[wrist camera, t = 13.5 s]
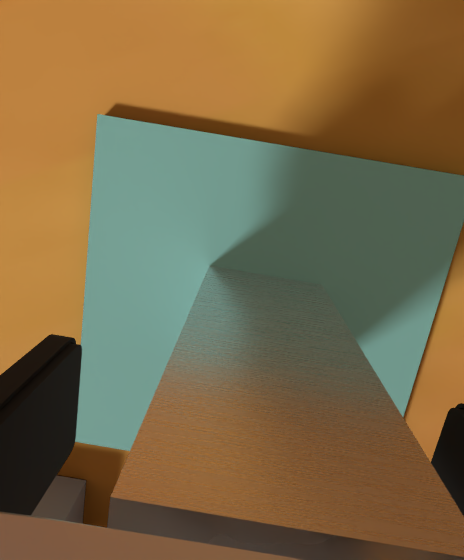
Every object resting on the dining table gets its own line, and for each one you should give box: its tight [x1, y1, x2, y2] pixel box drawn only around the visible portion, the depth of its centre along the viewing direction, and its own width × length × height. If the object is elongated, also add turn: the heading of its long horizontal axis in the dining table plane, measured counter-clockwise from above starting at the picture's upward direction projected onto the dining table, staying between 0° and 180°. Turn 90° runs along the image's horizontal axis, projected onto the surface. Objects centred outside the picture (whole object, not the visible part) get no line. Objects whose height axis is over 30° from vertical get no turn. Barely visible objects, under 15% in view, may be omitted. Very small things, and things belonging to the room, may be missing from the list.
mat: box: [75, 114, 464, 451], centre depth 17 cm, size 14×14×1 cm
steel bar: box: [107, 266, 464, 560], centre depth 11 cm, size 4×4×12 cm
